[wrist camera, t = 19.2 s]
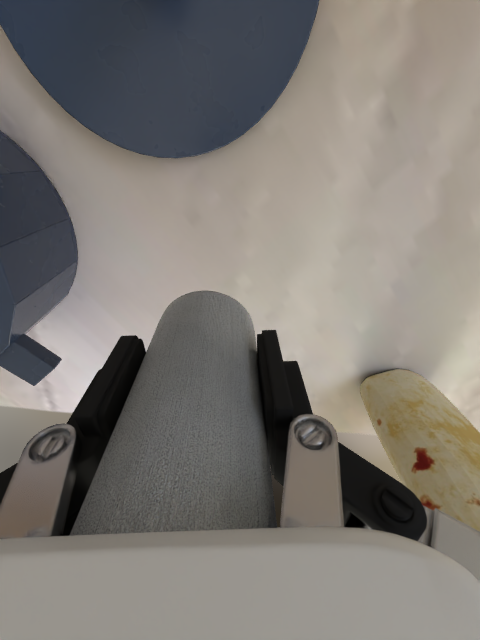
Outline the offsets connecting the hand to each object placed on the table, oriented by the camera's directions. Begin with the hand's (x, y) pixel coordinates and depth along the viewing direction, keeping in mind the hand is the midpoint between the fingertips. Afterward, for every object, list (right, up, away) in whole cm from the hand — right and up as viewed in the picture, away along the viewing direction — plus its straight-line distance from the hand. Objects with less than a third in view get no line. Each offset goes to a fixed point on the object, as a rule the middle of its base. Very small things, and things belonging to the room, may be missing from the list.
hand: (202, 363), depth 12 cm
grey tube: (0, +1, +2) cm, 3 cm away
